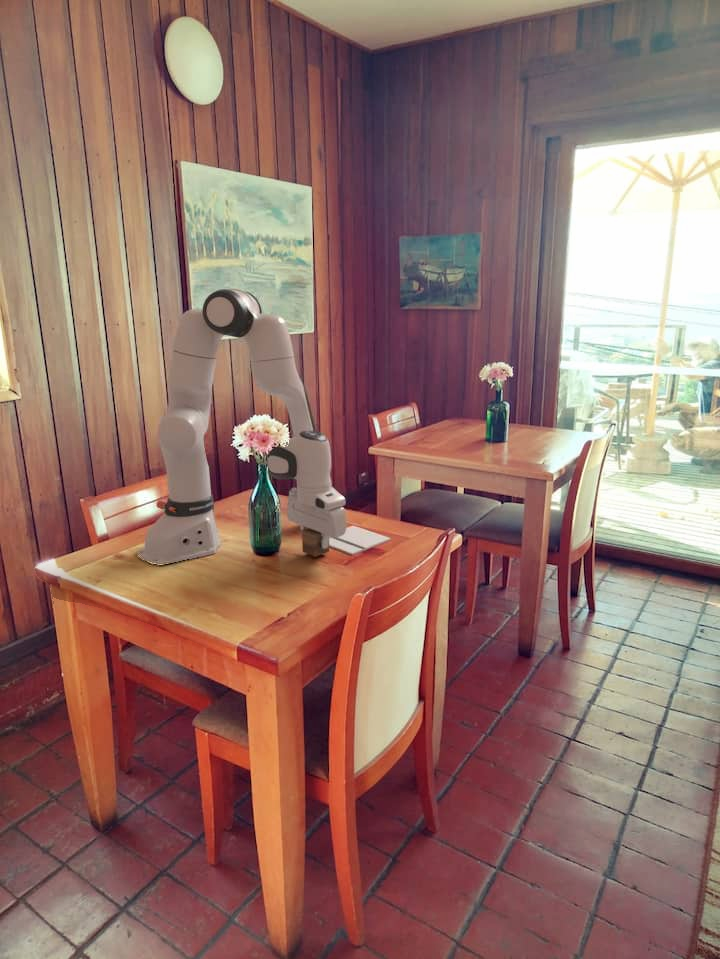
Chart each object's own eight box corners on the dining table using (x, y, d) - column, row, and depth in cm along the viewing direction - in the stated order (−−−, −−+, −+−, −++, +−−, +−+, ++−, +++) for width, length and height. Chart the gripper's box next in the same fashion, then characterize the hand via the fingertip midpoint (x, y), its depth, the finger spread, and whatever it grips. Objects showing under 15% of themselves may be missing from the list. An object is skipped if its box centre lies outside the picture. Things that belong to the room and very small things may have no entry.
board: (352, 555, 174) (352, 552, 174) (315, 540, 184) (315, 538, 184) (390, 539, 184) (390, 537, 184) (353, 527, 194) (353, 525, 194)
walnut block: (314, 556, 171) (314, 535, 169) (302, 551, 174) (301, 530, 172) (329, 551, 174) (328, 530, 172) (316, 546, 177) (316, 525, 176)
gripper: (280, 488, 175) (282, 537, 179) (331, 505, 161) (332, 558, 164) (298, 483, 179) (300, 531, 183) (350, 500, 165) (350, 551, 169)
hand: (315, 544), depth 173 cm, fingers closed on walnut block, 5 cm apart
